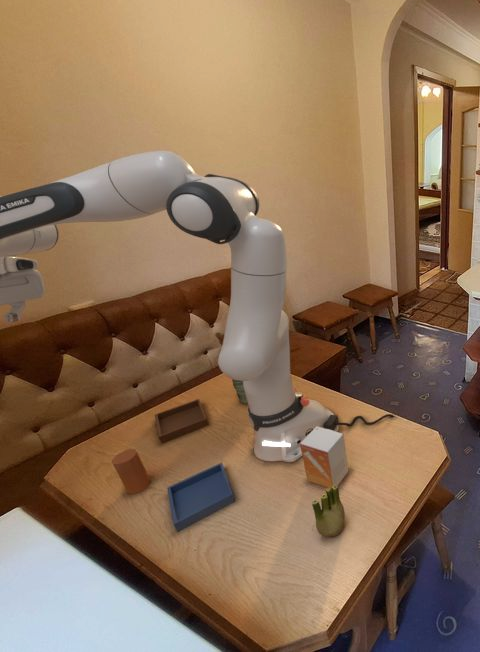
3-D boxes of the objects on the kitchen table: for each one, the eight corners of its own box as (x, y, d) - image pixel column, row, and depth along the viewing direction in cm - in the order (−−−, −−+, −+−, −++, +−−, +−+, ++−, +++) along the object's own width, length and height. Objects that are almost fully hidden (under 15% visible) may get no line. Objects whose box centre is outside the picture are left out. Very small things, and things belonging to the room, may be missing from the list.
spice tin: (149, 475, 91) (136, 446, 87) (151, 486, 88) (137, 457, 84) (126, 485, 88) (111, 455, 84) (127, 497, 85) (111, 467, 81)
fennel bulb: (319, 544, 76) (311, 506, 71) (318, 523, 80) (310, 486, 75) (347, 534, 78) (341, 496, 73) (345, 514, 82) (339, 477, 78)
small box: (307, 482, 90) (298, 443, 85) (323, 462, 96) (316, 425, 90) (334, 491, 88) (327, 452, 83) (349, 470, 93) (344, 433, 88)
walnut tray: (201, 404, 115) (199, 398, 114) (208, 425, 107) (206, 418, 106) (157, 420, 108) (154, 414, 107) (161, 443, 100) (158, 437, 99)
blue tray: (224, 469, 93) (221, 462, 92) (235, 501, 85) (232, 493, 84) (170, 494, 86) (167, 487, 85) (177, 532, 78) (173, 524, 77)
